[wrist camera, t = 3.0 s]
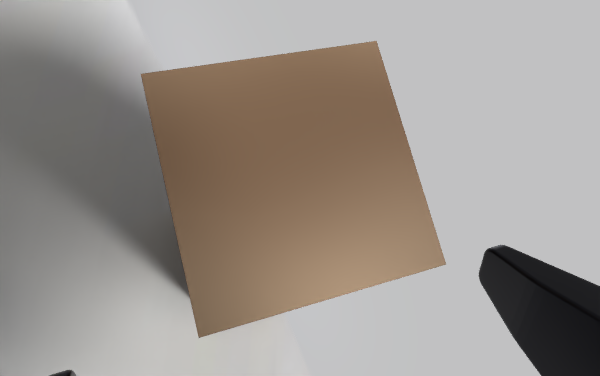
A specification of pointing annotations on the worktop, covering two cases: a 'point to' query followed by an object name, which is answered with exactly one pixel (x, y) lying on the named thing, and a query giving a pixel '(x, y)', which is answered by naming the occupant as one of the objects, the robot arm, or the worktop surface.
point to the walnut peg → (288, 181)
